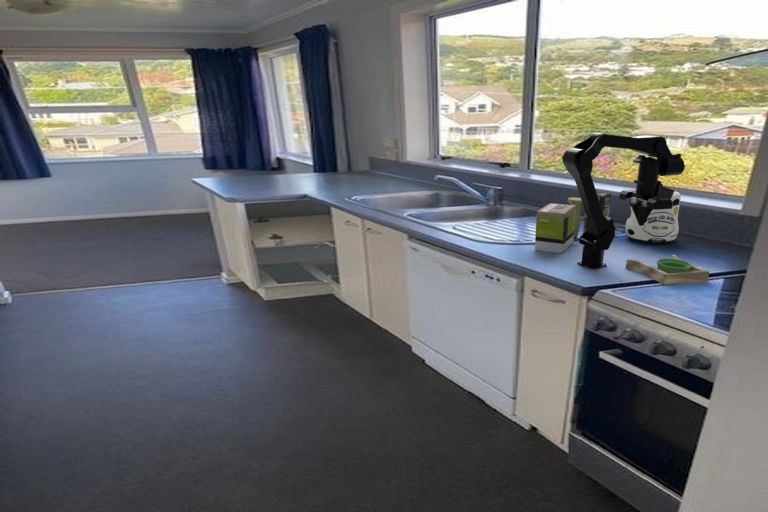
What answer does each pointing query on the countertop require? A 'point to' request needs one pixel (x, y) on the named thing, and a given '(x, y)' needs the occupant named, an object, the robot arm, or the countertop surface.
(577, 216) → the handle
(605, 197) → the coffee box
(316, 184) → the countertop surface
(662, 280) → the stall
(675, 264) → the ramekin
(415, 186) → the countertop surface
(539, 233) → the tea box
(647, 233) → the milk container
